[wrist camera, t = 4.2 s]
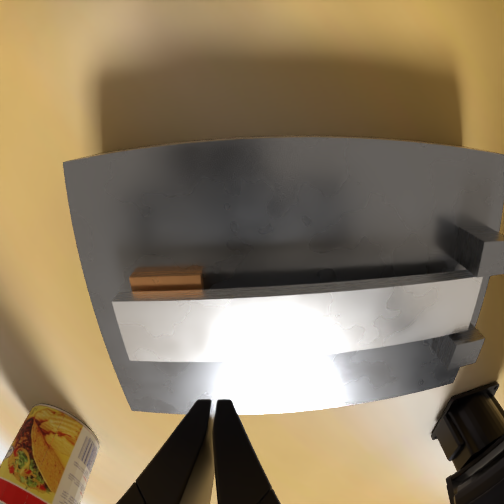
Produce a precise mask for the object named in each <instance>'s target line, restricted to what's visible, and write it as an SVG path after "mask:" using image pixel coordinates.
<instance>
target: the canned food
mask: <svg viewBox="0 0 504 504" xmlns="http://www.w3.org/2000/svg"><path fill="white" fill-rule="evenodd" d="M98 450H99V441H98V439H97V437H96V436H95V435H94V433H93V432H92V431H91V430H90V429H89V428H88V427H87V426H86V425H85V424H84V423H82V422H81V421H79V420H78V419H77V418H75V417H74V416H72V415H70V414H69V413H67V412H65V411H63V410H61V409H59V408H57V407H54V406H50V405H46V404H38V405H35V406H34V407H33V408H32V409H31V411H30V413H29V414H28V416H27V418H26V420H25V421H24V423H23V425H22V427H21V428H20V430H19V432H18V434H17V436H16V437H15V439H14V441H13V443H12V445H11V447H10V448H9V450H8V452H7V454H6V456H5V458H4V460H3V462H2V464H1V466H0V504H80V502H81V499H82V496H83V493H84V490H85V487H86V484H87V481H88V478H89V475H90V472H91V470H92V467H93V464H94V461H95V458H96V455H97V453H98Z"/></svg>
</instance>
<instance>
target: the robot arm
mask: <svg viewBox="0 0 504 504" xmlns="http://www.w3.org/2000/svg"><path fill="white" fill-rule="evenodd" d="M498 387H499V384H498V382H494V383H491V384H489V385H486V386H483V387H481V388H478V389H475V390H472V391H469V392H466V393H463V394H460V395H457V396H454V397H453V398H451V400H450V401H449V403H448V405H447V407H446V409H445V411H444V413H443V415H442V417H441V419H440V420H439V422H438V424H437V426H436V428H435V429H434V431H433V433H432V435H431V438H432V440H435V439H438V440H439V442H440V444H441V447H442V449H443V451H444V453H445V455H446V457H447V459H448V460H449V461H453V463H454V466H455V468H456V470H457V472H456V473H454V474H453V475H450V476H449V477H447V478H446V482H447V490H448V495H449V499H450V504H504V410H503V409H502V407H501V406H500V404H499V403H498V401H497V400H496V399H495V397H494V395H495V393H496V391H497V389H498ZM214 473H215V479H216V490H217V500H218V504H281V503H280V502H279V500H278V498H277V496H276V494H275V492H274V490H273V489H272V486H271V484H270V482H269V480H268V478H267V476H266V474H265V472H264V470H263V468H262V466H261V464H260V462H259V460H258V458H257V455H256V453H255V451H254V449H253V447H252V445H251V443H250V440H249V438H248V436H247V434H246V432H245V429H244V427H243V425H242V423H241V420H240V418H239V416H238V414H237V411H236V409H235V407H234V404H233V402H232V400H231V399H218V400H217V403H216V410H215V411H214V406H213V402H212V400H210V399H198V400H197V401H196V402H195V403H194V405H193V406H192V407H191V409H190V410H189V412H188V413H187V414H186V416H185V417H184V418H183V420H182V421H181V422H180V424H179V425H178V426H177V428H176V429H175V430H174V432H173V433H172V434H171V436H170V437H169V438H168V440H167V441H166V442H165V443H164V445H163V446H162V447H161V449H160V450H159V451H158V453H157V454H156V455H155V456H154V458H153V459H152V460H151V462H150V463H149V464H148V465H147V467H146V468H145V469H144V471H143V472H142V473H141V474H140V476H139V477H138V478H137V479H136V483H135V482H134V483H133V484H132V486H131V487H130V488H129V489H128V491H127V492H126V493H125V494H124V495H123V496H122V498H121V499H120V500H119V501H118V502H117V503H116V504H210V500H211V493H212V486H213V480H214Z"/></svg>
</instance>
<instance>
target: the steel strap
mask: <svg viewBox="0 0 504 504" xmlns="http://www.w3.org/2000/svg"><path fill="white" fill-rule="evenodd" d="M482 279H483V277H476V276H474V275H473V274H472V273H471V272H469V271H468V270H459V271H450V272H441V273H431V274H422V275H411V276H401V277H390V278H378V279H367V280H354V281H342V282H328V283H314V284H299V285H283V286H266V287H248V288H227V289H204V290H177V291H142V292H118V293H117V295H116V296H115V298H114V299H113V301H112V304H113V308H114V312H115V315H116V319H117V322H118V325H119V329H120V332H121V335H122V338H123V342H124V345H125V348H126V351H127V354H128V357H129V360H130V361H156V362H220V361H248V360H266V359H281V358H294V357H305V356H316V355H325V354H334V353H343V352H351V351H358V350H366V349H372V348H379V347H386V346H392V345H398V344H404V343H409V342H415V341H420V340H425V339H430V338H435V337H440V336H445V335H449V334H454V333H458V332H463V331H467V330H468V327H469V324H470V321H471V318H472V315H473V312H474V308H475V305H476V301H477V298H478V294H479V291H480V287H481V283H482Z"/></svg>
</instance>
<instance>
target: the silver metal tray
mask: <svg viewBox="0 0 504 504" xmlns="http://www.w3.org/2000/svg"><path fill="white" fill-rule="evenodd" d="M63 168H64V176H65V183H66V190H67V196H68V202H69V208H70V214H71V219H72V225H73V230H74V234H75V239H76V244H77V248H78V253H79V257H80V261H81V265H82V269H83V273H84V277H85V281H86V284H87V288H88V292H89V295H90V299H91V302H92V305H93V309H94V312H95V315H96V318H97V321H98V325H99V328H100V331H101V334H102V337H103V339H104V342H105V345H106V348H107V351H108V353H109V356H110V359H111V362H112V364H113V367H114V369H115V372H116V374H117V377H118V379H119V382H120V384H121V387H122V389H123V392H124V394H125V396H126V399H127V401H128V403H129V405H130V408H131V410H132V411H142V412H154V413H169V414H187V413H188V412H189V410H190V409H191V407H192V406H193V405H194V403H195V402H196V401H197V400H198V399H210V400H212V402H213V406H214V411H215V410H216V403H217V400H218V399H231V400H232V402H233V404H234V407H235V409H236V411H237V414H238V415H248V414H270V413H285V412H297V411H308V410H317V409H326V408H334V407H341V406H348V405H355V404H361V403H367V402H372V401H378V400H383V399H388V398H393V397H398V396H403V395H407V394H412V393H416V392H420V391H424V390H428V389H432V388H436V387H440V386H443V385H447V384H450V383H453V382H454V380H455V377H456V375H457V373H458V370H459V368H460V367H462V366H465V365H469V364H472V363H475V362H476V360H477V357H478V355H479V353H480V350H481V348H482V345H483V343H484V340H485V338H484V337H483V336H482V334H481V333H480V332H479V331H478V330H477V329H476V328H475V325H476V322H477V319H478V316H479V313H480V310H481V307H482V303H483V300H484V296H485V293H486V289H487V285H488V282H489V278H490V276H492V275H500V274H504V235H502V234H500V233H499V230H500V224H501V217H502V210H503V203H504V155H503V154H499V153H494V152H489V151H484V150H479V149H474V148H468V147H463V146H455V145H448V144H440V143H431V142H422V141H412V140H401V139H388V138H372V137H350V136H263V137H241V138H224V139H211V140H199V141H188V142H179V143H170V144H161V145H153V146H146V147H138V148H131V149H125V150H118V151H112V152H106V153H101V154H96V155H92V156H87V157H83V158H79V159H74V160H70V161H66V162H63ZM459 270H468V271H469V272H471V273H472V274H473V275H474V276H476V277H483V279H482V283H481V287H480V291H479V294H478V298H477V301H476V305H475V308H474V312H473V315H472V318H471V321H470V324H469V327H468V330H467V331H463V332H458V333H454V334H449V335H445V336H440V337H435V338H430V339H425V340H420V341H415V342H409V343H404V344H398V345H392V346H386V347H379V348H372V349H366V350H358V351H351V352H343V353H334V354H325V355H316V356H305V357H294V358H281V359H266V360H248V361H220V362H156V361H130V360H129V357H128V354H127V351H126V348H125V345H124V342H123V338H122V335H121V332H120V329H119V325H118V322H117V319H116V315H115V312H114V308H113V304H112V301H113V299H114V298H115V296H116V295H117V293H118V292H142V291H177V290H204V289H227V288H248V287H266V286H283V285H299V284H314V283H328V282H342V281H354V280H367V279H378V278H390V277H401V276H411V275H422V274H431V273H441V272H450V271H459Z"/></svg>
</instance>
